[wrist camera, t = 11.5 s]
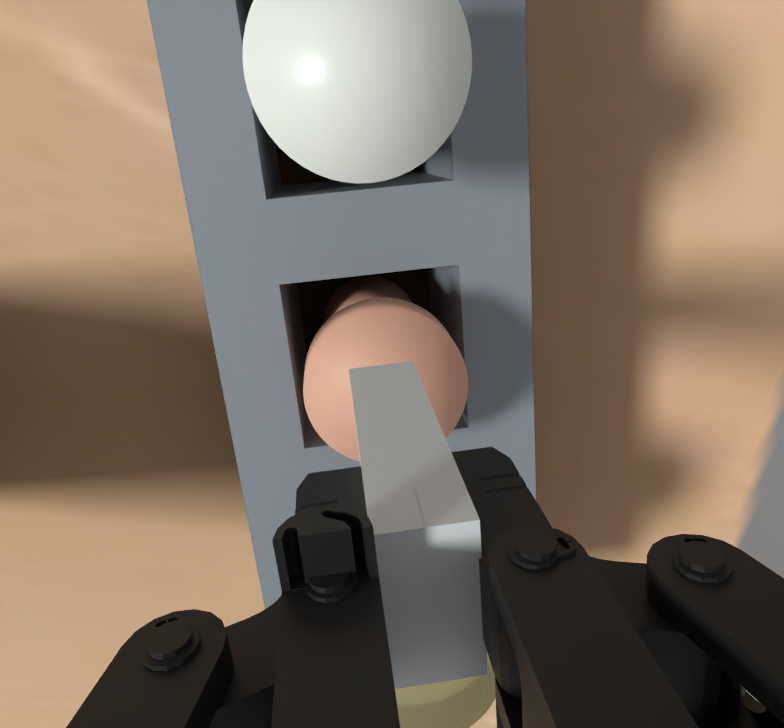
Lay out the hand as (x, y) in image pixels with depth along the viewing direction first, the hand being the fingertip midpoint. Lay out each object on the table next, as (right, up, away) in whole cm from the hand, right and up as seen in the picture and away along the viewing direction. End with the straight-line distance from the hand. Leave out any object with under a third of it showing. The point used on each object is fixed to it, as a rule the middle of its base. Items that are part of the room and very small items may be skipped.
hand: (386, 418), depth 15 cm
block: (-1, +4, +12) cm, 12 cm away
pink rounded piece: (-1, +3, +10) cm, 10 cm away
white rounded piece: (-1, +10, +5) cm, 11 cm away
